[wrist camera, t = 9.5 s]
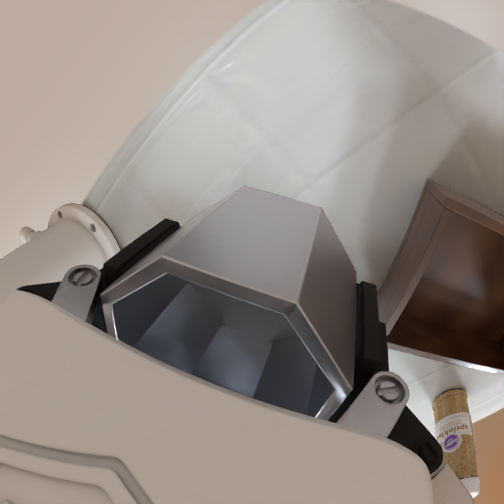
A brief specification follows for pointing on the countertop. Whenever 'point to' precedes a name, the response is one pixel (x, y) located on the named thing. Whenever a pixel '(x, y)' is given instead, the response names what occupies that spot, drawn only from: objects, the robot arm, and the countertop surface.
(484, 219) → the chest
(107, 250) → the robot arm
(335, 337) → the steel cup
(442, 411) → the sprinkles bottle
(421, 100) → the countertop surface
